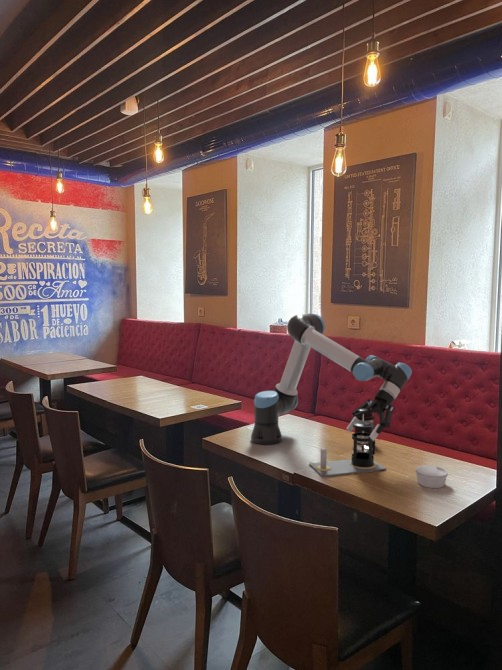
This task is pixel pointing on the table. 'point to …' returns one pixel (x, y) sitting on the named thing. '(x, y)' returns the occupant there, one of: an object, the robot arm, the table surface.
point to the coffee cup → (367, 418)
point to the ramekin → (431, 476)
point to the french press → (362, 453)
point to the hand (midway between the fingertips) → (359, 434)
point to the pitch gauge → (340, 466)
